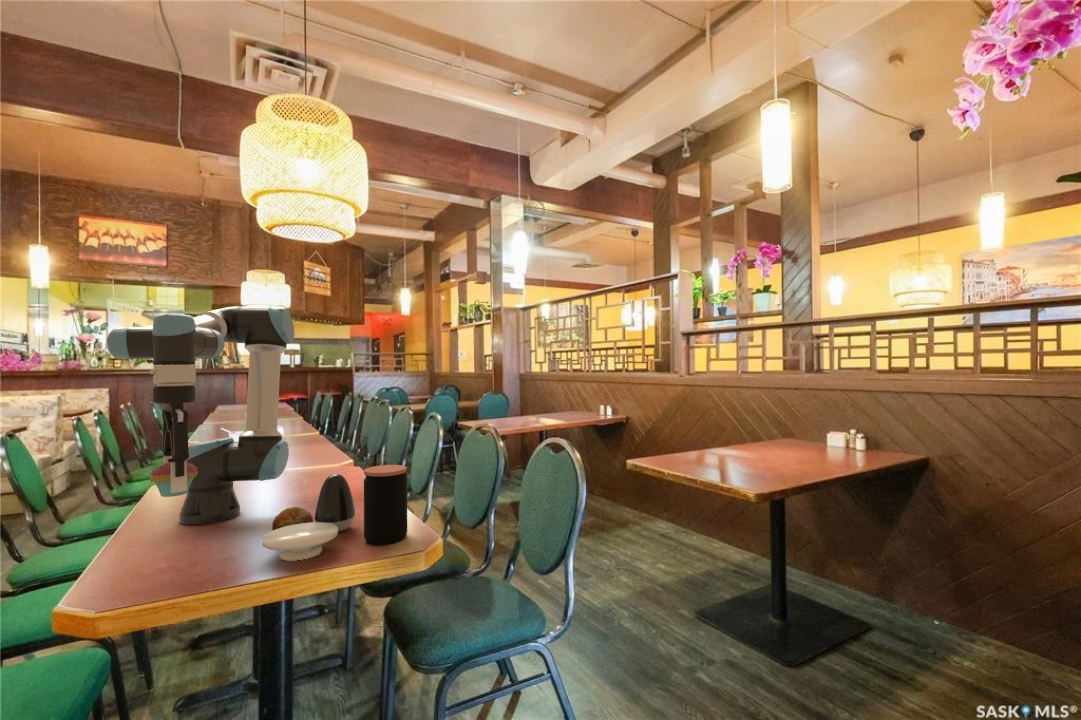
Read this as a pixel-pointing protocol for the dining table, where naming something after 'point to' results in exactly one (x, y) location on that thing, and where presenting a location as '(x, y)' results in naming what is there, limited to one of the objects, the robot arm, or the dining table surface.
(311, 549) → the cake stand
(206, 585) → the dining table surface
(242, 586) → the dining table surface
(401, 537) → the coffee jar
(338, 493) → the black egg shaped dome
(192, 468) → the cupcake
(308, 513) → the bread roll
